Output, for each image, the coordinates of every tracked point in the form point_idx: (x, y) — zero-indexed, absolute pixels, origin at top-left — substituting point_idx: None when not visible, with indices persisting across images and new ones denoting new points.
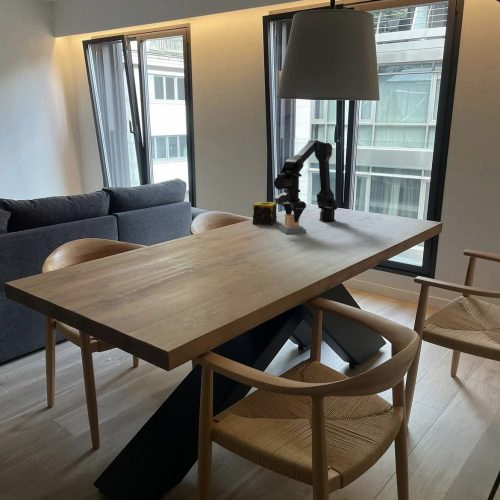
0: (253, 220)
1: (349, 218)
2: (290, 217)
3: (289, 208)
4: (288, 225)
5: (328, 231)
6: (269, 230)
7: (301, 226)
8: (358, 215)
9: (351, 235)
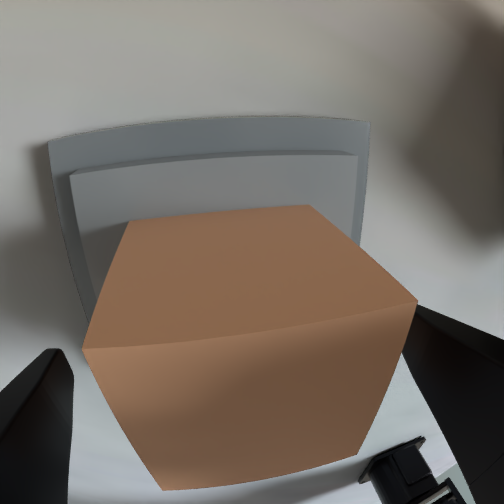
0: None
1: (368, 495)
2: (101, 365)
3: (499, 449)
4: (145, 228)
5: None
6: (341, 7)
7: None
8: None
9: None
